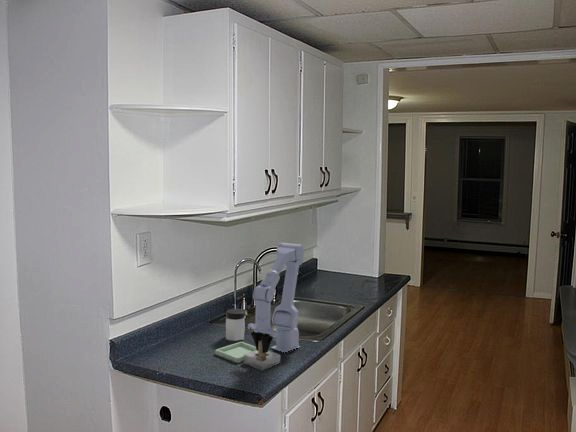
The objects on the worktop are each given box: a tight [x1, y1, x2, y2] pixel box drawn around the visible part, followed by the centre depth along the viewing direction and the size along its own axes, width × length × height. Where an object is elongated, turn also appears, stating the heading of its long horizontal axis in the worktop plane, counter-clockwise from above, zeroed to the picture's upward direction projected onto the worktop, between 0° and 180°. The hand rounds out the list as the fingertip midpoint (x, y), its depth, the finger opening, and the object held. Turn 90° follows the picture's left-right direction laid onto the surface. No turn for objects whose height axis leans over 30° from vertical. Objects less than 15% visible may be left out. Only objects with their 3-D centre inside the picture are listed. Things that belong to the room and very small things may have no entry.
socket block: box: [243, 350, 281, 371], centre depth 216 cm, size 10×10×4 cm
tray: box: [214, 341, 256, 364], centre depth 225 cm, size 14×13×2 cm
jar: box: [225, 308, 246, 342], centre depth 244 cm, size 9×8×12 cm
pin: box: [258, 340, 266, 357], centre depth 216 cm, size 3×3×9 cm
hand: (262, 351), depth 216 cm, fingers closed on pin, 3 cm apart
